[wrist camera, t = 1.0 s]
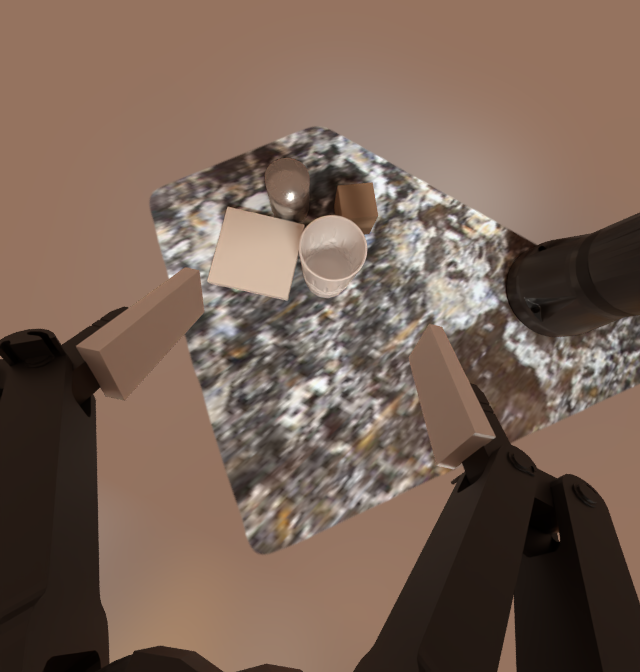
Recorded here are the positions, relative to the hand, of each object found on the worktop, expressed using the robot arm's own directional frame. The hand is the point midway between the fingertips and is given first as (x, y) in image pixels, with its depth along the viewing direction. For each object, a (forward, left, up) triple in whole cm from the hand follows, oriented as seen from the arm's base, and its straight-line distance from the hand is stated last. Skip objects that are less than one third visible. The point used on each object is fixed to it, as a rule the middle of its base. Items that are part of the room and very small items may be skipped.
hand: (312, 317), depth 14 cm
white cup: (0, -11, -23) cm, 25 cm away
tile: (+11, -12, -22) cm, 27 cm away
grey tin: (+8, -21, -23) cm, 32 cm away
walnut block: (-2, -21, -23) cm, 31 cm away
